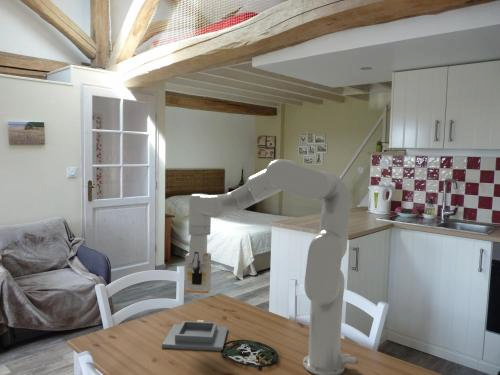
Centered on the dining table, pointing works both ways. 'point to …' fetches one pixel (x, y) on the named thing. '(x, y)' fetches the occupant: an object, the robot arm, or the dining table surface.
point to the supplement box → (206, 275)
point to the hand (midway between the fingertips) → (198, 281)
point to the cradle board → (196, 336)
